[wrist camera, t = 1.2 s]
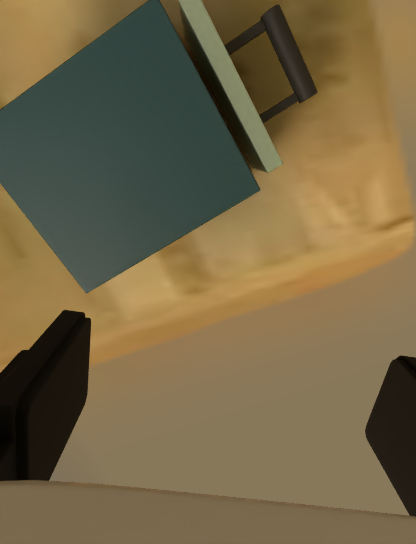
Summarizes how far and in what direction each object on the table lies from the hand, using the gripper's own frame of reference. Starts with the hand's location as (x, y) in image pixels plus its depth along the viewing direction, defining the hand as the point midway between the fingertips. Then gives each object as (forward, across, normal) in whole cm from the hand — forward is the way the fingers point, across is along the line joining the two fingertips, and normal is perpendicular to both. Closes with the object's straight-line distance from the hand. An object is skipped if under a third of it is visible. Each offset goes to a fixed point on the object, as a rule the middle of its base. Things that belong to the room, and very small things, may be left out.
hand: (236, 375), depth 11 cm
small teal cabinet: (+24, +8, -4) cm, 25 cm away
